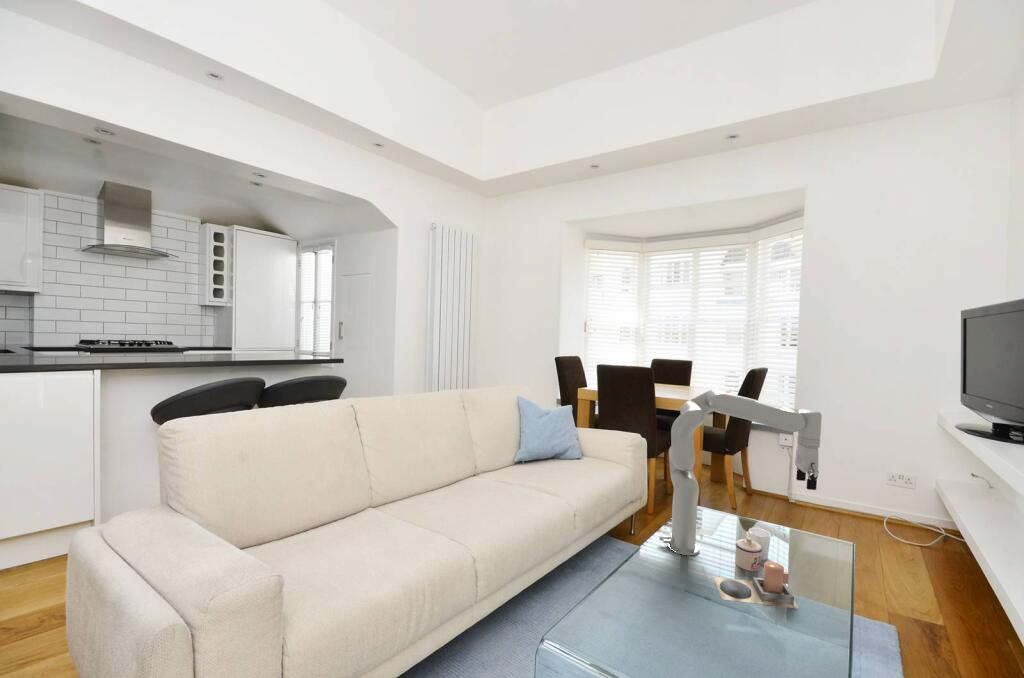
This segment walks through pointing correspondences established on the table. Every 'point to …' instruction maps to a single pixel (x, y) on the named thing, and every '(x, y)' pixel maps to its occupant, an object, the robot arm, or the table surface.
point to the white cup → (761, 540)
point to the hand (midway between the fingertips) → (805, 484)
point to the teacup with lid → (748, 554)
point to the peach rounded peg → (774, 578)
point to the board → (753, 592)
